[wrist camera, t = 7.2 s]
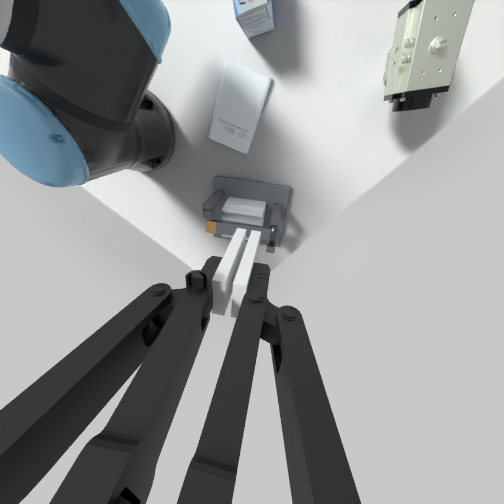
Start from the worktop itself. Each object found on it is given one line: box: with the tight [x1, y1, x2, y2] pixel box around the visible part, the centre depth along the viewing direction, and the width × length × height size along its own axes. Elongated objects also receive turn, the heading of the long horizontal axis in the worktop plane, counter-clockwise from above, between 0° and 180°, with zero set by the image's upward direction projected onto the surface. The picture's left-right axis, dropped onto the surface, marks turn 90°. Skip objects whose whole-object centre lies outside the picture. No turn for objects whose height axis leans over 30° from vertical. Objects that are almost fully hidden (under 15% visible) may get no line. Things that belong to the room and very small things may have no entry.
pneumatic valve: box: [383, 0, 474, 112], centre depth 27 cm, size 6×12×12 cm, turn 6°
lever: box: [206, 219, 278, 246], centre depth 41 cm, size 14×4×1 cm, turn 85°
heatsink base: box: [203, 176, 290, 253], centre depth 44 cm, size 16×14×10 cm
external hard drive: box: [208, 57, 272, 155], centre depth 38 cm, size 2×8×12 cm
